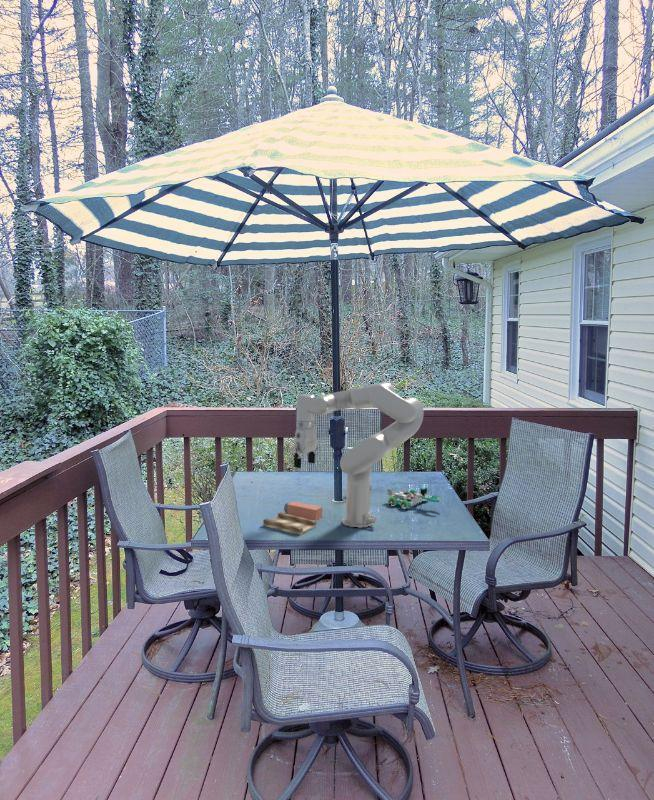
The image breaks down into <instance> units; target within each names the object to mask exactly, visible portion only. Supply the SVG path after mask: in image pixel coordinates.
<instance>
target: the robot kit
mask: <svg viewBox="0 0 654 800" xmlns="http://www.w3.org/2000/svg"><path fill="white" fill-rule="evenodd" d="M427 492H428V487H426V486H423V487H420V493H417V491H416V490H415V489H413V488H412V489H410V490H406V489H403V490H400V491H398V492H395V493H394V490H393V488H392V487H389V488H387V495H388V498H387V499H388V505H389V504H392V505H396V504H397V505H396V506H399V505H400V506H401V507H402V506H403V507H406V508H408V507H409V508H411V507H414V505H418V504H420V503H423V502H422V501H423V500H425V499H426V500H427V501H426V500H425V502H431V503H440V501H442V502H443V501H444V497H442V496H439V495H429V494H428V493H427ZM409 500H410V501H409ZM419 502H420V503H419ZM417 503H418V504H417ZM401 507H400V508H401ZM409 508H408V509H409Z"/></svg>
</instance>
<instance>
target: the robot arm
mask: <svg viewBox="0 0 654 800" xmlns="http://www.w3.org/2000/svg"><path fill="white" fill-rule="evenodd" d="M371 407H374V408H376V409H378V410H379V411H381V412H382V413H384V414H385V415H386V416H388V417H390V418H391V419H393V420H395V421H394V422H393V423H391V424H389V425H388V426H386V427H385V428H383V429H382V430H380V431H378V432H376V433H374V434H372V435H370V436H369V437H367V438H366V439H364V440H362V441H361V442H360V443H358V444H357V445H355V446H354V447H352V448H350V449H349V450H347V451H346V452H344V454H342V456H341V458H340V460H339V466H340V469H341V470H342V472H343V473H345V474H346V494H345V495H346V498H345V501H346V502H345V504H346V505H345V516H343V518H342V519H341V523H342V524H343V525H344V526H346V527H348V526H349V528H353V527H358V528H357V529H363V527H364V528H368V526H369V527H371V526H372V525H373V524H375V525H377V524H378V516H377V517H376V516H373V512H371V511H370V507H371V506H370V505H371V490H370V486H371V479H372V478H371V477H372V475H371V474H372V469H371V468H373V467H372V466H374V465H375V464H376V463H378V462H380V460H382V459H384V458H385V457H386V456H387V455H389V453H390V452H391V451H393V450H394V449H395V448H398V447H399V446H401V445H402V444H403V443H405V442H406V441H407V440H409V439H410V438H411V437H413V436H414V435H415V434H416V433H417V432H418V431H419V429H420V427H421V426H422V424H423V420H424V414H425V413H424V407H423V404H422V402H421V401H420V400H419V399H418V398H415V397H406V398H403V397H401V396H400V395H398V394H397V393H396V389H395V387H394V386H393V384H391V383H390V382H385V381H384V382H378V383H373V384H372V383H371V384H368V385H363V386H358V387H353V388H350V389H348V390H341V391H336V392H331V393H325V394H324V395H320V396H315V395H314V394H309V393H304V394H303V393H302V394H299V395H298V396H297V399H296V429H295V433H294V445H293V447H292V448H291V449H290V451H291V455H292V457H293V467H294V468H298V469H301V467H302V458H301V457H302V455H303V454H307V463H309V464H313V465H314V464H315V463H316V453H317V449H318V445H319V441H317V439H318V437H317V430H316V429H317V428H316V415H318V416H324V415H327V414H330V413H332V412H336V411H341V410H346V409H355V410H361V409H366V408H371Z"/></svg>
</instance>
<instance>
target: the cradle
mask: <svg viewBox="0 0 654 800" xmlns="http://www.w3.org/2000/svg"><path fill="white" fill-rule="evenodd" d="M262 521H263V522H262V523H263V524H262V525H263V526H264V527H267V528H269V529H270V528H271V529H274V528H275V529H274V530H278V531H283V532H285V533H289V532H290V533H291V534H293V533H295V534H294V535H297V534H299V535H298V536H302V535H303V534H302V533H304V534H306V533H307V532H306V531H308V530H310V529H312V528H314V527H315V528H317V521H315V520H310V519H306V518H302V517H298V516H293V515H289V514H287V513H286V512H278V513H277V517H275V518H272V519H268V518H264V519H263V520H262ZM315 528H314V529H315ZM312 530H313V529H312ZM310 531H311V530H310ZM305 532H306V533H305ZM308 532H309V531H308ZM301 534H302V535H301Z"/></svg>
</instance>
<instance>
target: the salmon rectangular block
mask: <svg viewBox="0 0 654 800" xmlns="http://www.w3.org/2000/svg"><path fill="white" fill-rule="evenodd" d="M283 506H284V507H283V511H284V513H285V514H289V515H293V516H298V517H302V518H306V519H310V520H315V521H316V522H318V521H320V520H321V519H323V506H320V505H315V504H310V503H304V502H299V501H295V500H293V501H291V502H287V503H285V504H284V505H283ZM319 519H320V520H319ZM317 520H318V521H317Z"/></svg>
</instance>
